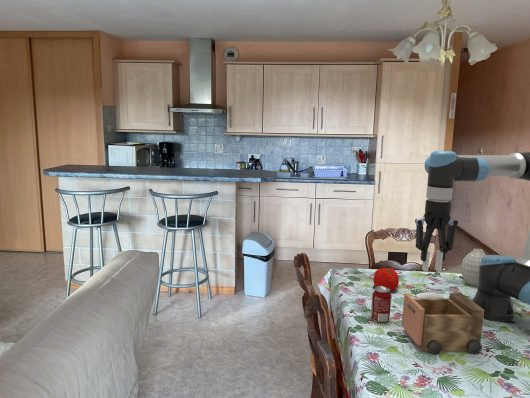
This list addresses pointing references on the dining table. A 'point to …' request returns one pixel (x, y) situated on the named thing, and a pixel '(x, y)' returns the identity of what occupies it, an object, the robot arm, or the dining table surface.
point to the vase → (472, 266)
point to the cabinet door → (413, 318)
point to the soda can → (381, 304)
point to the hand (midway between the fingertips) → (431, 270)
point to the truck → (451, 324)
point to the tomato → (386, 278)
